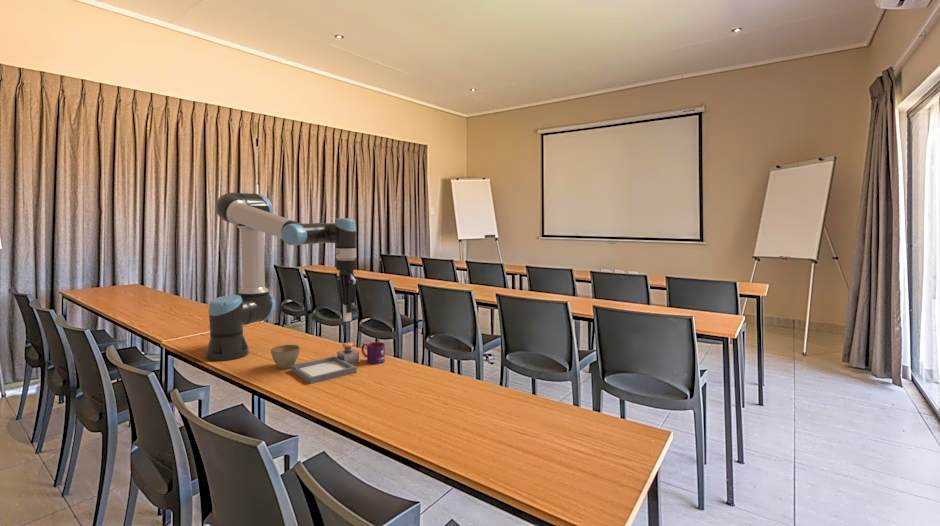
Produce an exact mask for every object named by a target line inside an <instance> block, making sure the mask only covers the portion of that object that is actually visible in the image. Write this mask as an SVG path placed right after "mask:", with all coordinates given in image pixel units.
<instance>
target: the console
mask: <svg viewBox="0 0 940 526" xmlns="http://www.w3.org/2000/svg"><path fill="white" fill-rule="evenodd" d="M336 357H338V358H340V359H342V360H344V361H346V362H348V363H350V364H352V365H354V364H356V363H360V352H359V351H357V350H355V349H353V348H351V353H345V349H343V350H338V351H336Z"/></svg>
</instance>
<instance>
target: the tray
mask: <svg viewBox="0 0 940 526" xmlns="http://www.w3.org/2000/svg"><path fill="white" fill-rule="evenodd" d="M357 370H358V368H357V366H356V365H354V364H350V363H348V362H346V361H344V360H342V359H340V358H338V357H337V355H336V356H335V355H333V356H328V357H324V358H320V359H319V358H318V359H315V360H311V361H305V362H301V363H295V364H294V365H291V368H290V372H292V373H293V374H295V375H297V376H298V377H299V378H301V379H302V380H304V381H306V382H307V383H309V384H310V385H313V384H316V383H320V382H325V381H328V380H332V379H337V378H340V377H344V376H348V375H352V374H356V373H357V372H358V371H357Z"/></svg>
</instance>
